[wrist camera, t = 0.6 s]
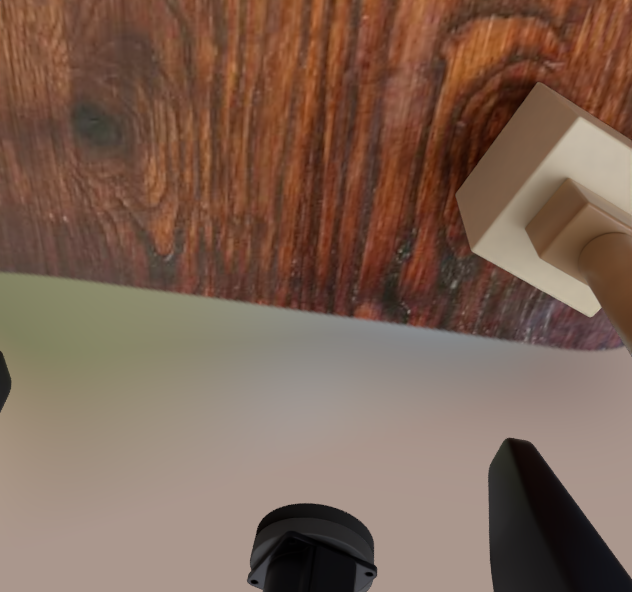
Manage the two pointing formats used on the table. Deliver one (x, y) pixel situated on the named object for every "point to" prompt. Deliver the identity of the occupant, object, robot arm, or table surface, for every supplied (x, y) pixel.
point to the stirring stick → (589, 248)
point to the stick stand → (542, 186)
